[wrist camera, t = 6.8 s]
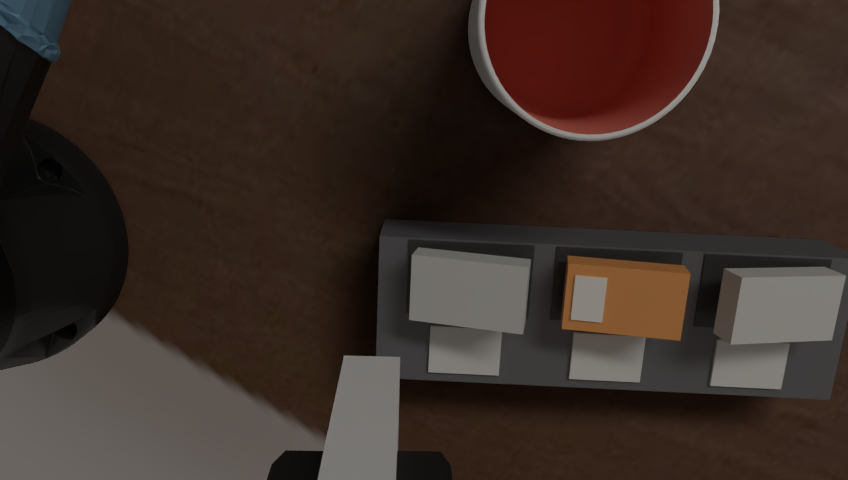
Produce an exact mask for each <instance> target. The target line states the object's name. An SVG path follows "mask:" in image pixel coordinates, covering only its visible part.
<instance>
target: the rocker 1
mask: <svg viewBox="0 0 848 480" xmlns="http://www.w3.org/2000/svg"><path fill="white" fill-rule="evenodd" d="M530 266H531V259H524V258H515V257H505V256H496V255H486V254H477V253H468V252H458V251H449V250H439V249H430V248H421V247H418V248H417V250H416V251H415V252H414V253H413V254H412V262H411V286H410V309H409V320H413V321H421V322H429V323H437V324H444V325H452V326H460V327H468V328H475V329H483V330H491V331H499V332H506V333H514V334H522V335H523V332H524V327H525V322H526V310H527V299H528V288H529V277H530Z"/></svg>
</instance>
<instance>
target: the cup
mask: <svg viewBox="0 0 848 480" xmlns="http://www.w3.org/2000/svg"><path fill="white" fill-rule="evenodd" d="M718 19H719V0H472V3H471V7H470V12H469V20H468V40H469V48H470V52H471V56H472V60H473V63H474V65H475V68H476V70H477V72H478V74H479V76H480V78H481V80H482V81H483V83H484V84H485V86H486V87H487V89H488V90H489V91H490V92H491V93H492V94H493V95H494V97H495V98H496V99H497V100H499V101H500V102H501V103H502V104H503V105H505V106H506V107H507V108H509V109H510V110H511V111H513V112H514V113H516V114H517V115H518V116H520V117H521V118H522V119H524V120H525V121H527V122H528V123H530V124H531V125H533V126H535V127H537V128H538V129H540V130H542V131H545V132H547V133H549V134H552V135H555V136H558V137H562V138H566V139H571V140H579V141H601V140H609V139H614V138H619V137H622V136H625V135H629V134H631V133H634V132H637V131H639V130H641V129H643V128H645V127H647V126H649V125H651V124H652V123H654V122H656V121H657V120H659V119H660V118H662V117H663V116H664V115H666V114H667V113H668V112H669V111H671V110H672V109H673V108H674V107H675V106H676V105H677V104H678V103H679V102H680V101H681V100H682V99H683V98H684V97H685V96H686V95H687V93H688V92H689V91H690V90H691V88H692V87H693V85H694V84H695V83H696V81H697V80H698V78H699V76H700V75H701V73H702V71H703V69H704V68H705V65H706V63H707V61H708V59H709V56H710V54H711V51H712V48H713V44H714V41H715V37H716V32H717V27H718Z"/></svg>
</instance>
